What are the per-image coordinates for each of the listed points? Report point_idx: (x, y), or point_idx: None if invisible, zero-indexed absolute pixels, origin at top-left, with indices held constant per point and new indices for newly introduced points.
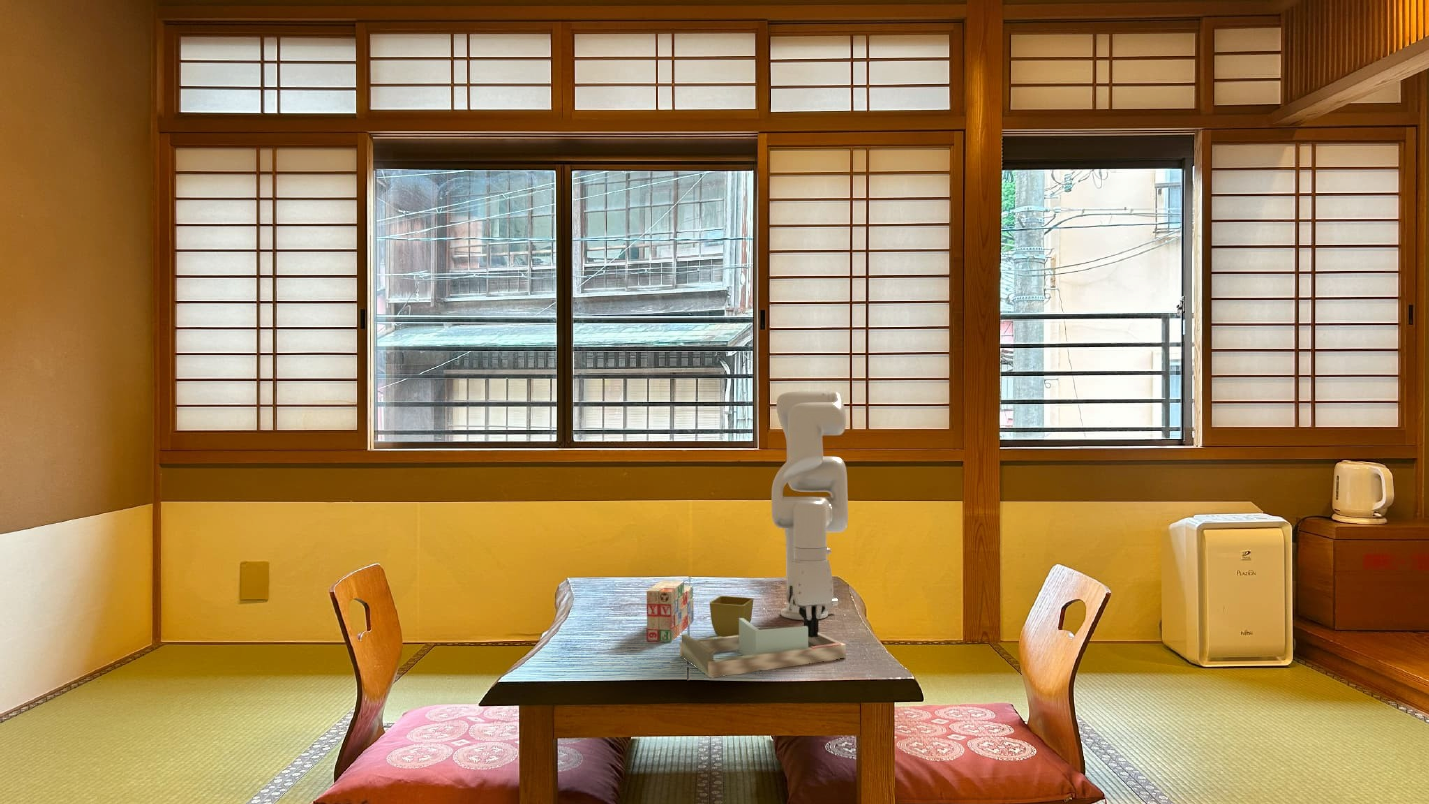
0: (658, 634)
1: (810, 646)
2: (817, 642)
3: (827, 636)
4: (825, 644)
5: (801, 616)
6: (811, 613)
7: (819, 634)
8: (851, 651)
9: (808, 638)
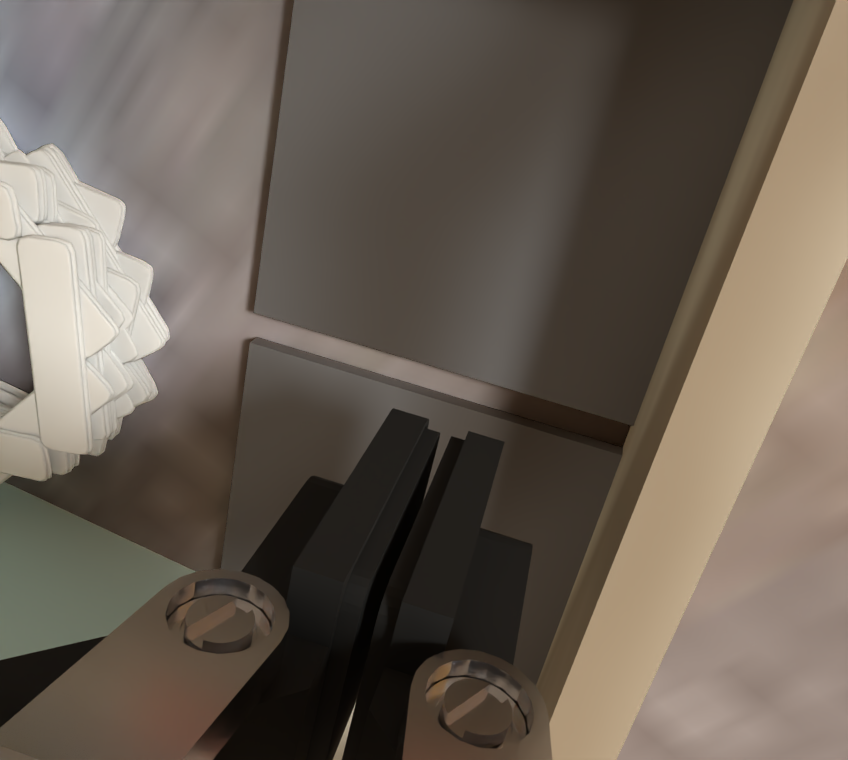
0: None
1: (570, 314)
2: (656, 388)
3: (675, 615)
4: (588, 579)
5: (183, 577)
6: (398, 748)
7: (679, 470)
8: (823, 715)
9: (760, 116)
